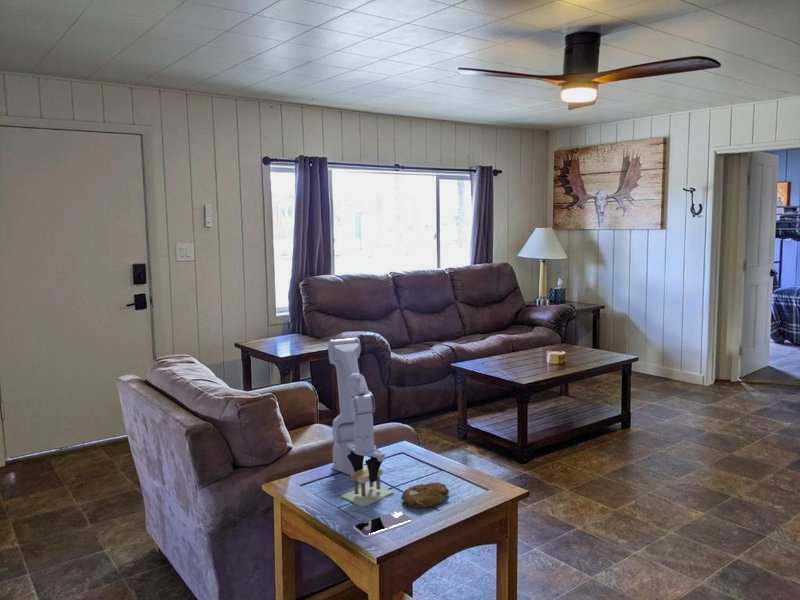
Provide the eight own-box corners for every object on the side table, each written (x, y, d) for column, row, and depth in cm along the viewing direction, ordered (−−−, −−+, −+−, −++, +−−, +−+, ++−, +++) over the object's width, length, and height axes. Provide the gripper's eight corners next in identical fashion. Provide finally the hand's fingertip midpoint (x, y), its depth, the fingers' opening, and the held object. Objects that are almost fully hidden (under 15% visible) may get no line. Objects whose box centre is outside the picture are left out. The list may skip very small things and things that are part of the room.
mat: (340, 497, 183) (340, 495, 183) (371, 484, 192) (371, 483, 192) (362, 507, 176) (362, 505, 176) (393, 493, 184) (393, 491, 184)
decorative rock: (430, 488, 189) (394, 506, 178) (429, 475, 188) (393, 492, 178) (458, 497, 180) (422, 516, 170) (457, 483, 180) (421, 502, 170)
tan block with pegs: (351, 493, 183) (350, 474, 182) (370, 484, 189) (369, 465, 188) (364, 497, 179) (362, 477, 179) (383, 488, 185) (382, 469, 184)
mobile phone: (351, 524, 165) (399, 509, 173) (351, 528, 165) (399, 512, 173) (365, 536, 158) (414, 519, 166) (365, 539, 158) (414, 523, 166)
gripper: (391, 435, 180) (393, 480, 181) (356, 426, 190) (359, 469, 191) (374, 442, 175) (376, 488, 176) (339, 432, 185) (342, 476, 186)
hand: (366, 479), depth 183 cm, fingers closed on tan block with pegs, 5 cm apart
